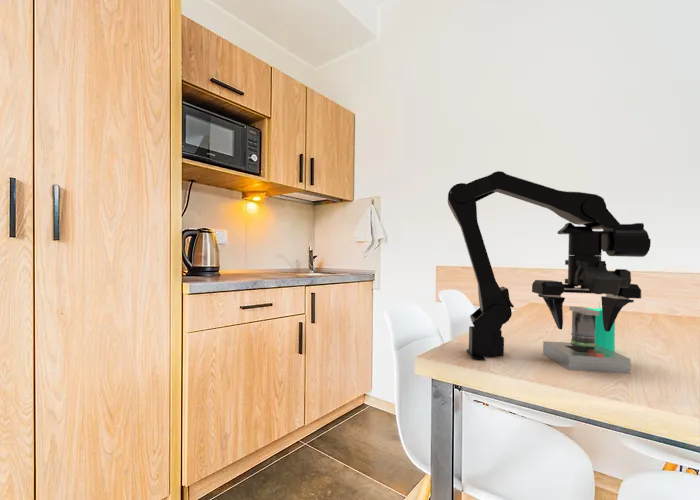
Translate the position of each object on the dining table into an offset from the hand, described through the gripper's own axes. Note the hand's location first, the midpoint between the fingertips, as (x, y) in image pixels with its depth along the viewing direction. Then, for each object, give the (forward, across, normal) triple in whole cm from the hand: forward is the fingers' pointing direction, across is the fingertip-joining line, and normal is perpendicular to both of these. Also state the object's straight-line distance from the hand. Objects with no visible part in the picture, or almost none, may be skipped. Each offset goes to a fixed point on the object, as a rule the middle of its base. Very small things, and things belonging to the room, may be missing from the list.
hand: (583, 330), depth 71 cm
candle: (+8, +10, +12) cm, 17 cm away
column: (+3, 0, 0) cm, 3 cm away
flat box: (+8, 0, 0) cm, 8 cm away
